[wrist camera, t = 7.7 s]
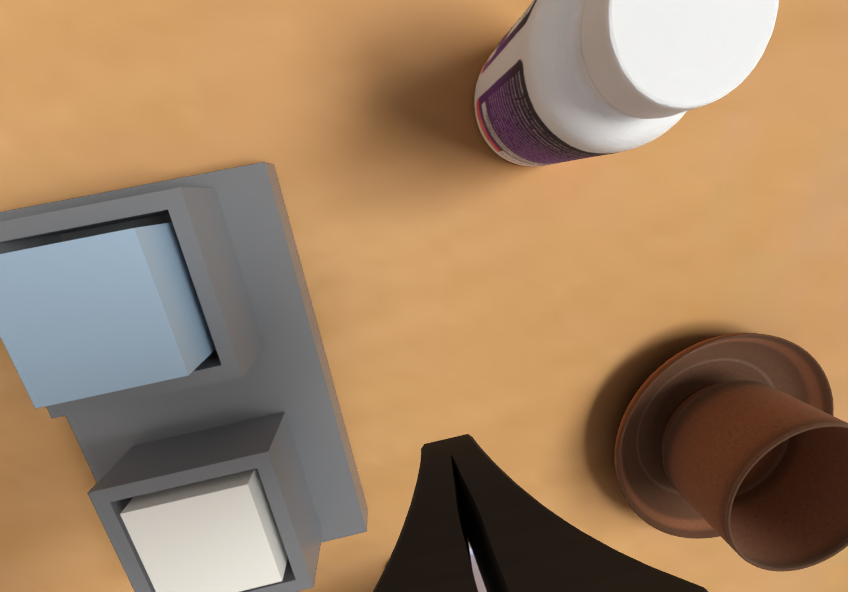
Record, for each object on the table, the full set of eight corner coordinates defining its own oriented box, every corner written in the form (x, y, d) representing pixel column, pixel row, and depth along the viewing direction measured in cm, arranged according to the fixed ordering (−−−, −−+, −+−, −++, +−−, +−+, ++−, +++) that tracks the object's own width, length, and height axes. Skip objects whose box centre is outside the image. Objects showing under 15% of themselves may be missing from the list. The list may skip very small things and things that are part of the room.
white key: (296, 524, 20) (282, 581, 17) (195, 548, 20) (164, 610, 17) (267, 439, 19) (247, 484, 16) (160, 463, 19) (119, 514, 16)
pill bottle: (579, 172, 19) (772, 154, 10) (465, 160, 19) (554, 129, 9) (601, 42, 18) (846, -121, 9) (479, 24, 17) (601, -175, 8)
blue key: (222, 342, 16) (188, 375, 13) (97, 369, 16) (35, 408, 13) (180, 221, 15) (133, 228, 12) (44, 247, 15) (-37, 261, 12)
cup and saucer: (803, 301, 22) (958, 341, 16) (793, 486, 25) (919, 576, 20) (590, 348, 22) (671, 408, 16) (606, 533, 25) (678, 641, 19)
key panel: (367, 509, 22) (365, 585, 18) (160, 559, 22) (106, 650, 17) (273, 164, 18) (239, 155, 13) (6, 215, 17) (-120, 223, 13)
